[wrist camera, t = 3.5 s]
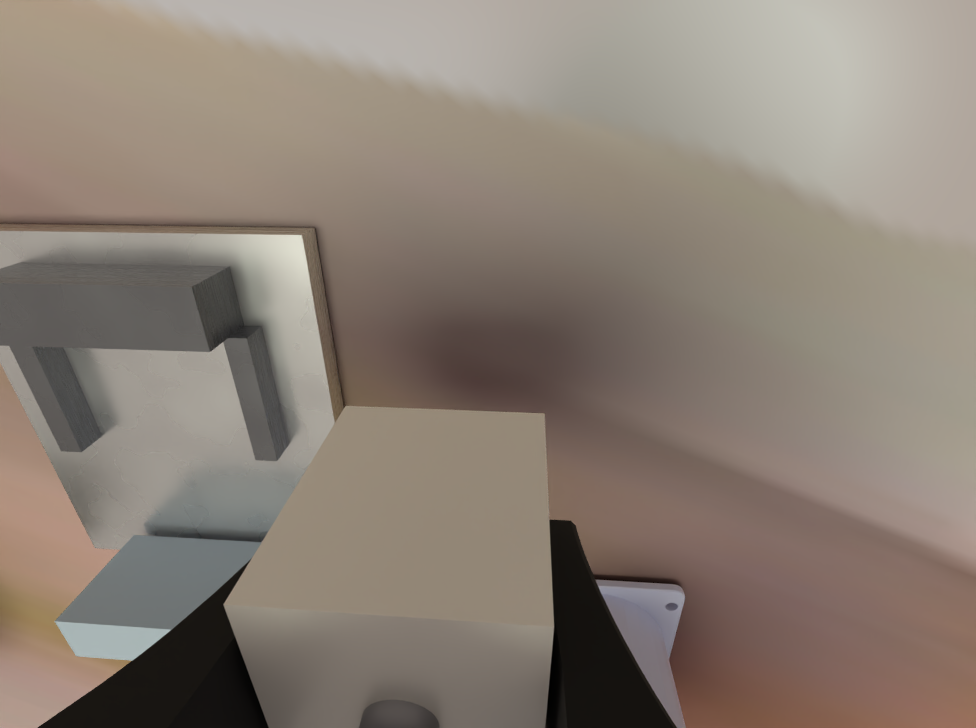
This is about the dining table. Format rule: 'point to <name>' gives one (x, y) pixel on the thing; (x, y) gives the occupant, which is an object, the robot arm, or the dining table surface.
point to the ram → (148, 593)
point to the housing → (406, 577)
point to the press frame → (170, 370)
